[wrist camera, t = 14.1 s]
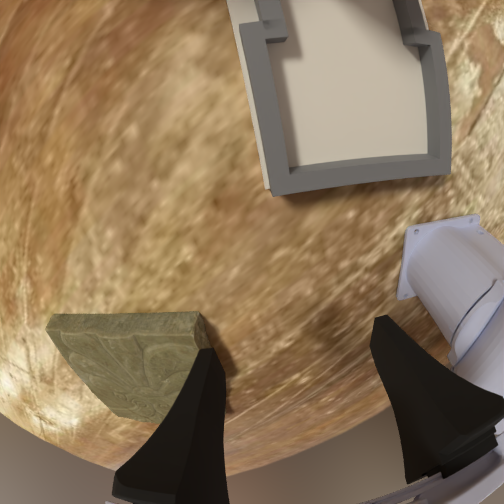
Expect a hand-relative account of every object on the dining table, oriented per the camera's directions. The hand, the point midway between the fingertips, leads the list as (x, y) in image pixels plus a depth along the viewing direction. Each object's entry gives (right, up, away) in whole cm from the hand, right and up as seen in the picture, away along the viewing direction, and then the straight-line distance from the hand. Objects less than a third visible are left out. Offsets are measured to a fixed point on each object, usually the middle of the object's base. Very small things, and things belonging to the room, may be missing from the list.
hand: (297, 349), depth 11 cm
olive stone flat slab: (-14, -10, +18) cm, 25 cm away
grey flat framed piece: (+4, +19, +1) cm, 20 cm away
